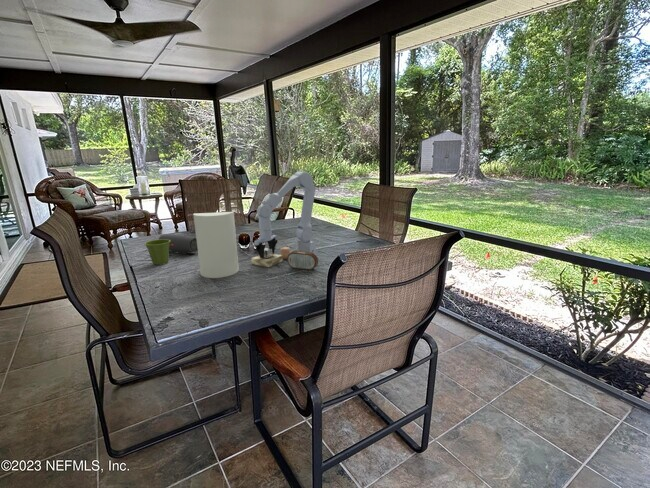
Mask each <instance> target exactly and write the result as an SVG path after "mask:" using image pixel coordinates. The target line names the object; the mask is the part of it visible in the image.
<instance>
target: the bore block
mask: <svg viewBox="0 0 650 488" xmlns="http://www.w3.org/2000/svg"><path fill="white" fill-rule="evenodd" d="M250 260H251V264H252V265H256V266H261V267H265V268H270V267H273V266H276V265H277V264H280V263H282V262H283V261H284V259H283V255H281V254H276V253H274V254H272V258H269V259H265V258H260V256H259V254H258V255H257V256H254V257H253V256H252V257H251V259H250Z"/></svg>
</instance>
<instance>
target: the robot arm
mask: <svg viewBox="0 0 650 488" xmlns="http://www.w3.org/2000/svg"><path fill="white" fill-rule="evenodd" d="M313 178H314V177H313V176H312V175H311V174H310V173H309V172H307V171H304V172H303V171H296V172H294V173H293V175H291V176H290V178H289V179H288V180H287V181H286V182H285V183H284V185H282V187H281V188H280V189H278V190H277V192H273V193H270V194H269V195H268V198H267V199H266V200H265V201H263V202H262V204H260V205H259V206H257V209H256V214H257V215H258V226H259V227H258V229H259V230H258V231H259V237H258V238H257V239H255V240H254V243H253V244H254V245H253V246H254V247H255V249H256V252H257V253H258V255H259V256H260V258H264V249H265V248H266V244H264V243H266V242H267V244H268V248H270V249H272V254H275V250H276V246H277V244H278V242H279V241H278V237H277V236H278V235H277V234H272V221H271V216H272V213H273V211H274V210H275V209H276V208H277V207H279V205H280V204H281V203H282V200H283V197H284V196H286V194H288V192H290V191H291V190H292V189H293V188H295V187H300V188H302V190H303V191H304V194H303V198H302V207H301V213H300V221H299V222H298V223H297V227H296V229H295V231H294V233H295V236H296V237H297V239H296V245H297V246H296V248H297V249H296V251H304V252H312V253H314V254H315V255H316V256H317V257H318V255H317V245H316V242H315V241H312V238H313V231H312V230H313V227H312V224H311V222H312V221H311V220H312V214H313V207H314V201H315V194H316V187H315V184H314V179H313Z"/></svg>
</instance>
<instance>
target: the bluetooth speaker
mask: <svg viewBox="0 0 650 488" xmlns="http://www.w3.org/2000/svg"><path fill="white" fill-rule="evenodd" d="M159 239H168V240H170V243H169V251H170V252H171V251H172V253H173V252H178V253H177V254H180V253H187V254H190V253H191V254H193V253H196V252H197V253H198V248H197V240H196V236H195V237H194V236H189V235H183V234H182V235H180V234H162V235H160V236H159V238H158V240H159Z"/></svg>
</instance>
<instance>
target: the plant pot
mask: <svg viewBox="0 0 650 488" xmlns="http://www.w3.org/2000/svg"><path fill="white" fill-rule="evenodd" d="M169 243H170V240H168V239H159V238H158V239H153V240H148V241H146V242H144V245H145V247H146V249H147V250H148V254H149V257H150V260H151V262H152V265H154V264H156V265H158V264H162V265H164V264H163V263H166V264H167V263H169V255H170V253H169V251H170V250H169Z"/></svg>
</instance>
